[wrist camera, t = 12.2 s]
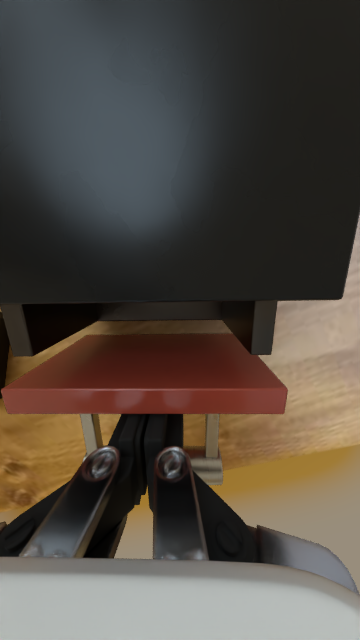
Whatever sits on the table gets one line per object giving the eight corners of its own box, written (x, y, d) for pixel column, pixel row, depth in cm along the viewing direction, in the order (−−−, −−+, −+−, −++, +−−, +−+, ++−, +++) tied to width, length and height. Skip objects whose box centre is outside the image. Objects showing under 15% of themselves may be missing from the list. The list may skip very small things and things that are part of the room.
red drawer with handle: (233, 404, 15) (271, 505, 8) (97, 404, 15) (32, 502, 9) (250, 131, 11) (362, -106, 4) (57, 138, 11) (-139, -74, 4)
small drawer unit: (245, 284, 14) (343, 300, 5) (78, 286, 14) (-80, 306, 6) (264, 14, 10) (672, -1301, 2) (39, 25, 10) (-578, -1038, 2)
